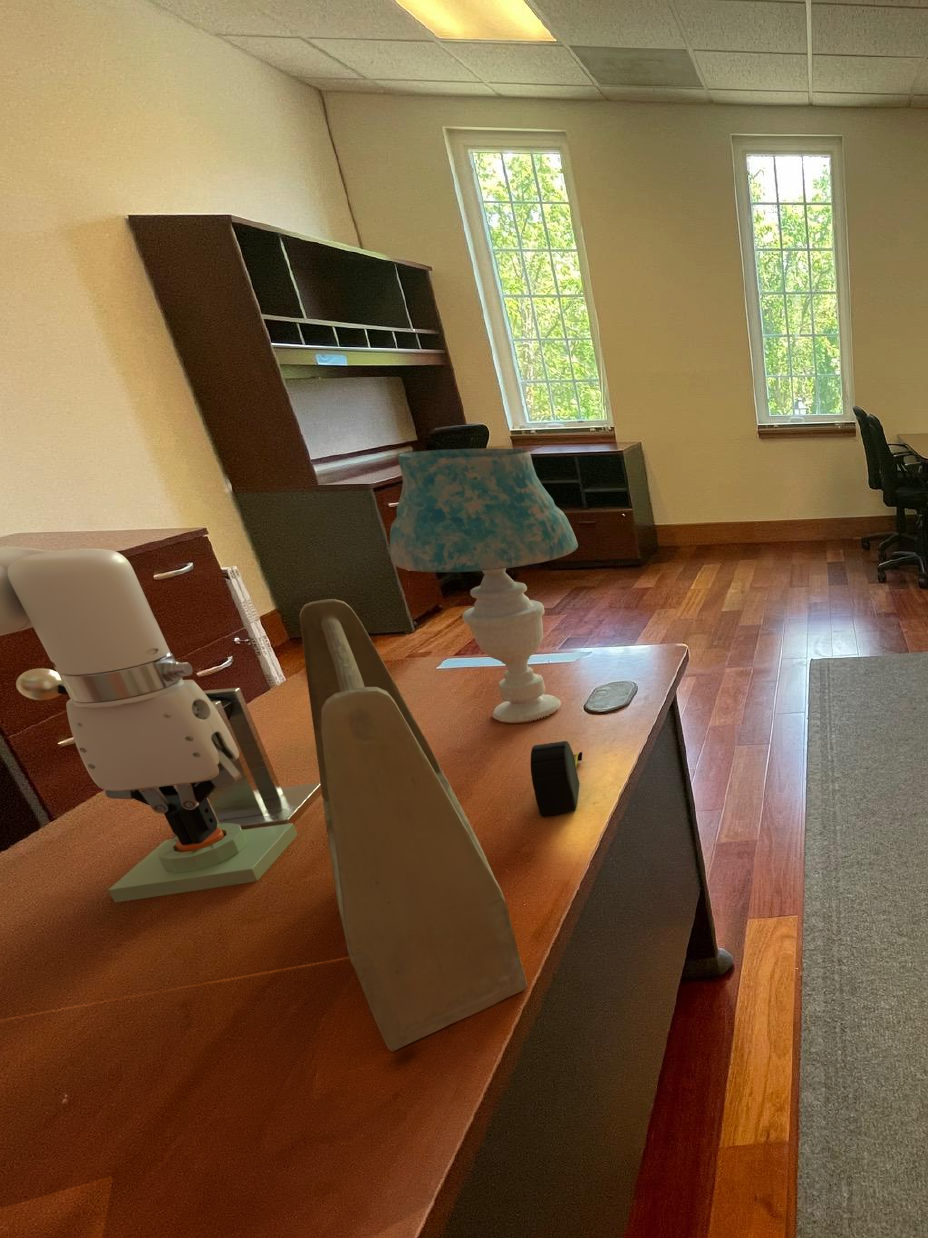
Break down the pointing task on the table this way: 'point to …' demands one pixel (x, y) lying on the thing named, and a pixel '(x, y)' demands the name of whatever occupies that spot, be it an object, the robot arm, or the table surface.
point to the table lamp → (486, 552)
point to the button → (212, 839)
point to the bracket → (254, 776)
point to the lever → (62, 687)
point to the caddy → (400, 846)
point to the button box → (205, 863)
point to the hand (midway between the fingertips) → (200, 836)
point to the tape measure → (555, 777)
